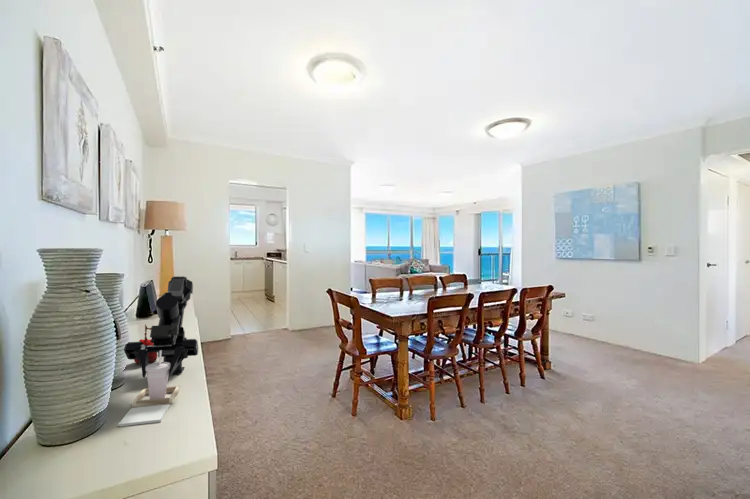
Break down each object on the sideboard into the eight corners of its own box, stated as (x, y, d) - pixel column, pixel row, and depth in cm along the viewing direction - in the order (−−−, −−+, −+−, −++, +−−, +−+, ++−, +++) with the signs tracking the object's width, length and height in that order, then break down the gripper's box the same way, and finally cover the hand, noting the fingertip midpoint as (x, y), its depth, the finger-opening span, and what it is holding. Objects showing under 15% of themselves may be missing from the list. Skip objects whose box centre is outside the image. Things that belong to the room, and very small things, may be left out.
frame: (143, 393, 103) (143, 388, 103) (179, 390, 106) (179, 385, 106) (132, 407, 94) (132, 402, 94) (172, 403, 97) (172, 398, 97)
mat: (131, 410, 92) (131, 408, 92) (169, 406, 95) (169, 404, 95) (118, 426, 84) (118, 424, 84) (160, 421, 87) (160, 419, 87)
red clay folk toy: (159, 359, 135) (160, 320, 136) (154, 364, 129) (155, 324, 129) (136, 360, 133) (137, 321, 133) (130, 366, 126) (131, 325, 126)
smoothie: (157, 404, 96) (159, 354, 96) (138, 402, 97) (140, 352, 97) (175, 395, 102) (176, 348, 102) (157, 393, 104) (158, 346, 104)
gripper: (127, 314, 101) (110, 364, 90) (198, 312, 107) (190, 359, 96) (135, 335, 108) (120, 383, 98) (201, 332, 114) (194, 377, 104)
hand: (156, 375), depth 99 cm, fingers closed on smoothie, 6 cm apart
